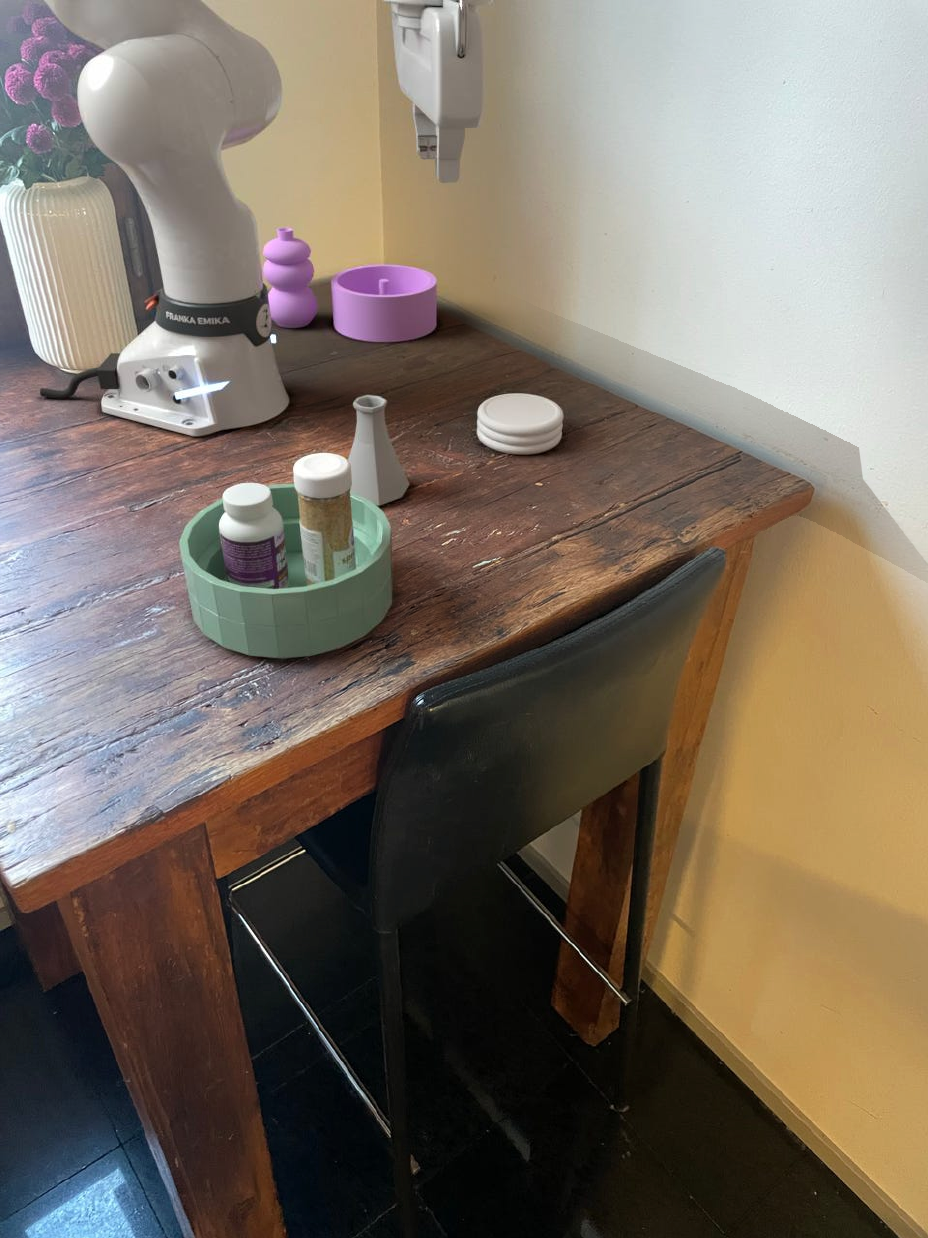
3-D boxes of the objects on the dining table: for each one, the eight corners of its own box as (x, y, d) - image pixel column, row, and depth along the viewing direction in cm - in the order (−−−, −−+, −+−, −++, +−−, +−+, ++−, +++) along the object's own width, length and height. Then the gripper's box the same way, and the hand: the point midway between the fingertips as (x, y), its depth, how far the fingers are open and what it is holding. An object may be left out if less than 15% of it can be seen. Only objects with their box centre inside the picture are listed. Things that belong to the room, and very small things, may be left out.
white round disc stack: (488, 414, 115) (489, 386, 113) (568, 425, 113) (571, 397, 110) (466, 449, 107) (467, 420, 105) (552, 461, 105) (554, 433, 103)
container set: (436, 307, 146) (436, 217, 138) (436, 342, 134) (436, 246, 126) (275, 305, 145) (266, 215, 137) (260, 340, 133) (249, 244, 125)
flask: (381, 514, 95) (378, 423, 89) (325, 494, 98) (318, 405, 92) (421, 485, 100) (420, 397, 94) (366, 467, 103) (362, 381, 97)
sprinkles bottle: (364, 612, 80) (356, 473, 72) (311, 621, 79) (297, 480, 71) (353, 583, 84) (344, 447, 76) (302, 591, 83) (288, 454, 75)
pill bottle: (296, 599, 82) (286, 503, 76) (235, 612, 80) (220, 514, 74) (282, 567, 86) (271, 473, 80) (224, 578, 84) (208, 483, 78)
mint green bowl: (154, 642, 78) (138, 572, 73) (247, 535, 91) (238, 471, 87) (351, 681, 74) (346, 610, 70) (417, 564, 88) (417, 498, 84)
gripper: (508, -16, 66) (499, 195, 74) (452, -30, 82) (450, 145, 90) (419, -17, 64) (421, 197, 73) (380, -31, 80) (385, 146, 89)
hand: (437, 168), depth 81 cm, fingers open, 8 cm apart
